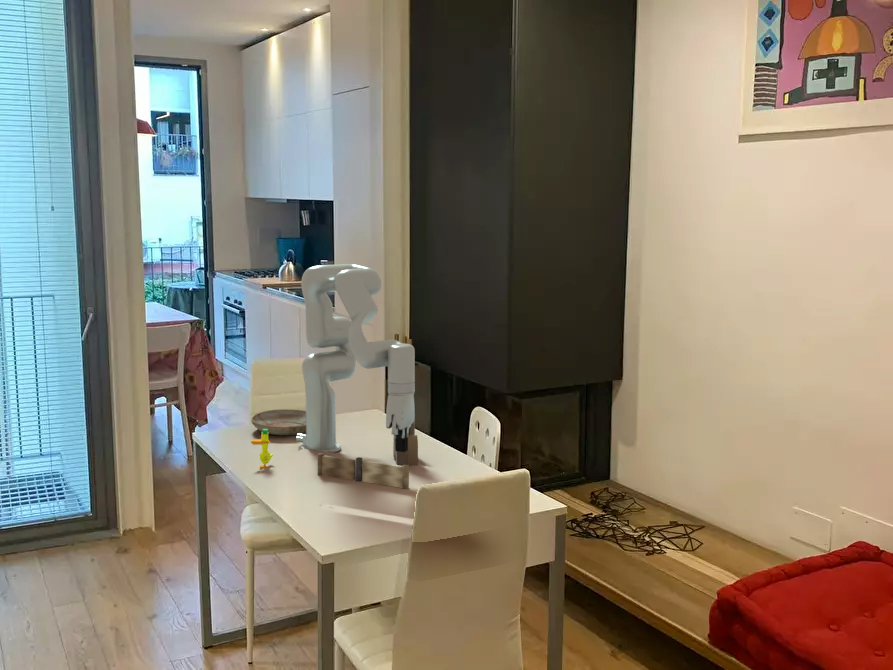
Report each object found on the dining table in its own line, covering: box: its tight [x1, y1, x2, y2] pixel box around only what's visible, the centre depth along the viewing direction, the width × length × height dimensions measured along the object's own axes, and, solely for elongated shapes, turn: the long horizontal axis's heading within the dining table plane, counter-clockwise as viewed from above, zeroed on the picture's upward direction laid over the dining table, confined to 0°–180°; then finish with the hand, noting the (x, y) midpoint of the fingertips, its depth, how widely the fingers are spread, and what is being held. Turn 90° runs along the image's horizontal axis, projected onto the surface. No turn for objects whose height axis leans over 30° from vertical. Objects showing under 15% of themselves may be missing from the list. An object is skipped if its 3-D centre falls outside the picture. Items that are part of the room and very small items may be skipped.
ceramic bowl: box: [251, 408, 306, 436], centre depth 302 cm, size 23×24×5 cm
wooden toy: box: [392, 418, 419, 466], centre depth 268 cm, size 16×7×25 cm, turn 8°
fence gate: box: [361, 459, 410, 490], centre depth 245 cm, size 14×2×6 cm, turn 68°
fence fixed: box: [317, 452, 363, 483], centre depth 250 cm, size 14×2×7 cm, turn 68°
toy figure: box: [250, 429, 275, 470], centre depth 261 cm, size 7×4×12 cm, turn 99°
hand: (401, 450), depth 249 cm, fingers closed
